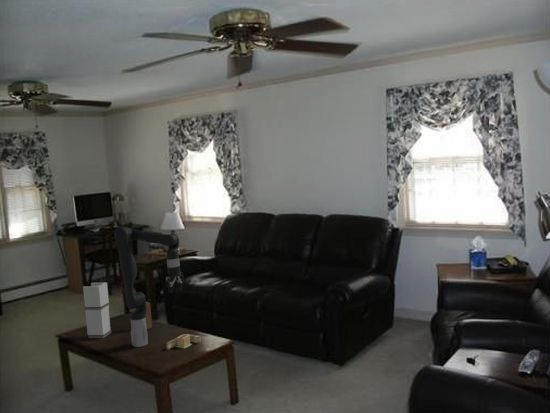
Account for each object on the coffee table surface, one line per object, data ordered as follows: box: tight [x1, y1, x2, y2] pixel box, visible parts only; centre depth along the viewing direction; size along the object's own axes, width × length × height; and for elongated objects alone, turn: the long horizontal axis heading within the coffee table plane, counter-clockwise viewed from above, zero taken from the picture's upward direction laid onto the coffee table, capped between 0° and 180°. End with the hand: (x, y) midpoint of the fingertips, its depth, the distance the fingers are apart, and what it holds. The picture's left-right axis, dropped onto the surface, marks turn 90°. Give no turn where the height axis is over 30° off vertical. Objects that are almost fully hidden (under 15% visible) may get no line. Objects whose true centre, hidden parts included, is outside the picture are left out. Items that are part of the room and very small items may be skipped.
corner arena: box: [165, 333, 202, 350], centre depth 303 cm, size 13×17×4 cm
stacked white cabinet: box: [82, 282, 112, 339], centre depth 332 cm, size 11×11×35 cm
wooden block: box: [146, 301, 153, 330], centre depth 340 cm, size 9×4×18 cm, turn 131°
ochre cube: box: [176, 334, 191, 347], centre depth 303 cm, size 6×6×6 cm
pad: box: [174, 343, 193, 349], centre depth 303 cm, size 8×8×1 cm
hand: (175, 291), depth 306 cm, fingers open, 8 cm apart
